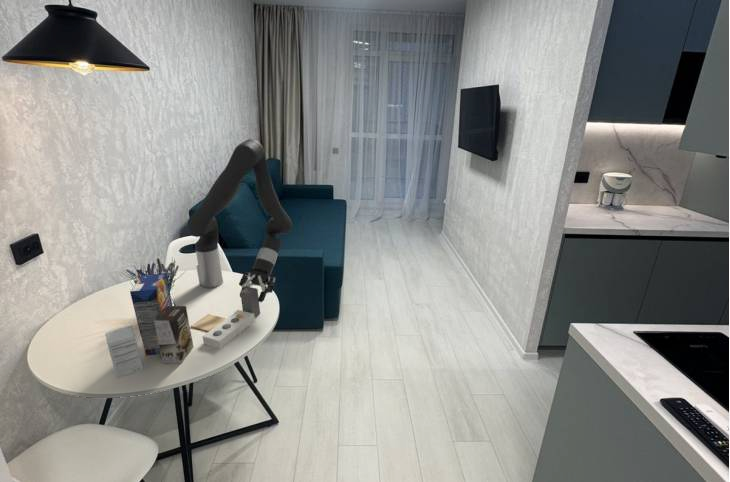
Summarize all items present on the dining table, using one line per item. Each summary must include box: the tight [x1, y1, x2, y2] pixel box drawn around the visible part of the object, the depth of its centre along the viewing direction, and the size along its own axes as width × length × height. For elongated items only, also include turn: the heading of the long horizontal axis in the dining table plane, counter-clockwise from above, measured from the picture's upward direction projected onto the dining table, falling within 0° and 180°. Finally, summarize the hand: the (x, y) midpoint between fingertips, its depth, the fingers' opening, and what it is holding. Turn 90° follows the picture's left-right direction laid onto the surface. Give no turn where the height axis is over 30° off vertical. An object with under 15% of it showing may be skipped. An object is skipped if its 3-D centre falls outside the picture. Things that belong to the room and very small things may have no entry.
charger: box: [239, 286, 261, 318], centre depth 148 cm, size 4×7×11 cm
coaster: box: [190, 313, 227, 333], centre depth 145 cm, size 9×9×1 cm
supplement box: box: [105, 325, 144, 378], centre depth 119 cm, size 7×7×13 cm
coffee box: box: [154, 305, 194, 365], centre depth 124 cm, size 9×6×16 cm
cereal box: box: [129, 272, 173, 357], centre depth 129 cm, size 12×8×24 cm, turn 13°
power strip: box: [202, 309, 256, 349], centre depth 139 cm, size 8×18×4 cm, turn 158°
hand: (250, 299), depth 148 cm, fingers open, 8 cm apart
